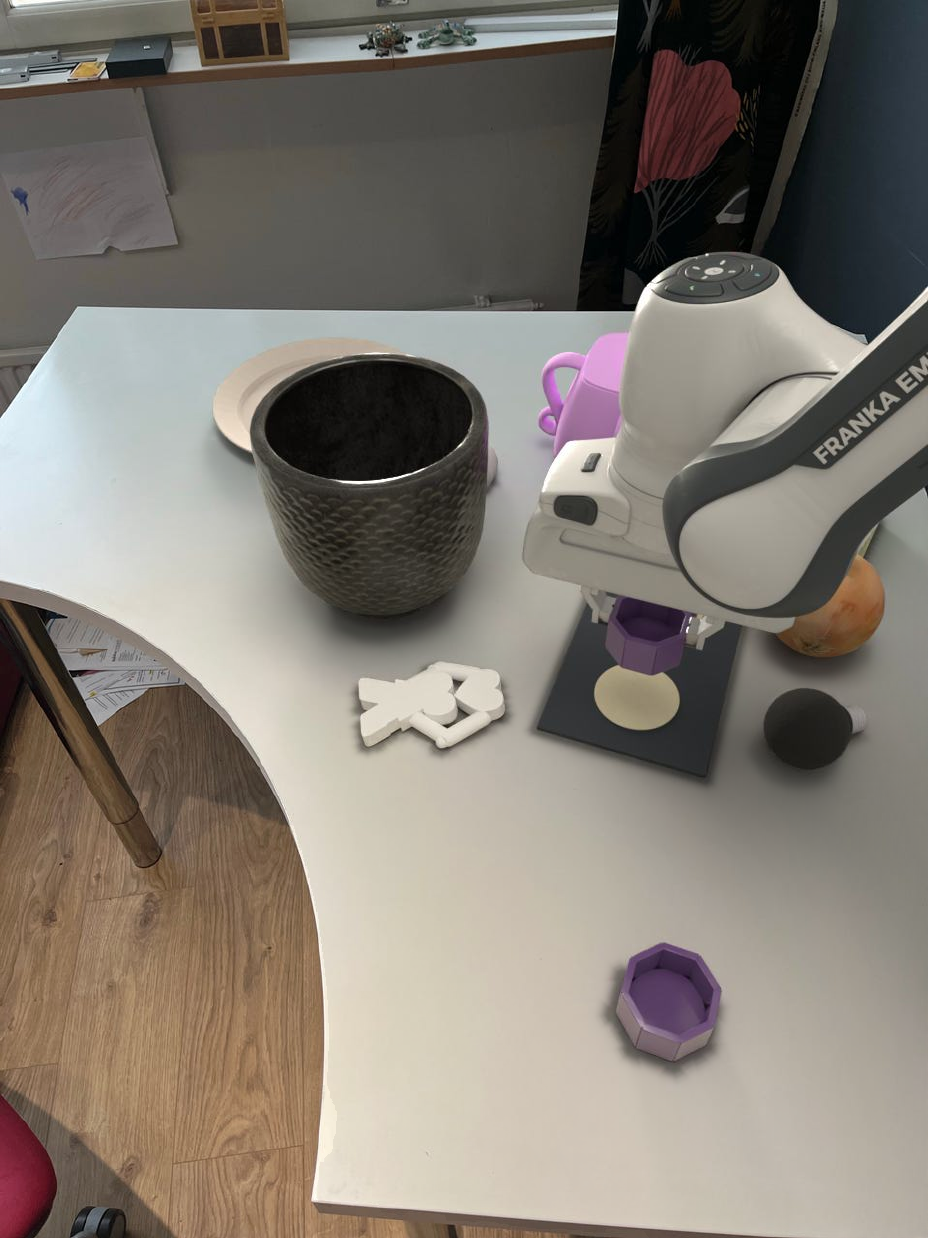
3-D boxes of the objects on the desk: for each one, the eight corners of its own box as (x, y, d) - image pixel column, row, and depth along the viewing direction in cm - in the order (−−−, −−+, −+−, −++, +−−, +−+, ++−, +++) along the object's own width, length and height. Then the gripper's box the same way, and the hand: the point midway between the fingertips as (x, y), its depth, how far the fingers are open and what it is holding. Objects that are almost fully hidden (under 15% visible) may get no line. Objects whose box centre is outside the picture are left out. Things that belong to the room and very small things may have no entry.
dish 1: (690, 628, 75) (696, 599, 73) (674, 682, 71) (681, 653, 69) (618, 610, 77) (622, 581, 74) (599, 662, 73) (602, 633, 70)
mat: (752, 578, 89) (753, 575, 88) (704, 778, 74) (705, 775, 73) (610, 545, 92) (611, 542, 92) (536, 729, 77) (536, 726, 77)
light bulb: (908, 706, 73) (826, 722, 67) (876, 772, 75) (795, 792, 70) (843, 665, 77) (762, 677, 72) (815, 728, 80) (735, 744, 75)
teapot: (595, 535, 93) (608, 416, 83) (515, 423, 107) (517, 308, 96) (758, 489, 98) (790, 371, 87) (661, 387, 111) (679, 273, 101)
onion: (862, 606, 86) (896, 525, 79) (869, 688, 79) (908, 608, 72) (755, 592, 87) (778, 511, 80) (753, 671, 81) (779, 591, 74)
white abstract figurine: (511, 738, 76) (508, 723, 74) (367, 764, 76) (362, 749, 74) (495, 657, 82) (493, 642, 80) (362, 681, 82) (357, 666, 80)
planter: (471, 503, 97) (468, 340, 83) (506, 641, 84) (509, 474, 70) (283, 526, 95) (248, 363, 82) (288, 670, 82) (247, 505, 68)
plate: (409, 484, 100) (407, 469, 98) (183, 465, 103) (179, 451, 101) (448, 357, 117) (448, 343, 115) (254, 345, 120) (251, 331, 118)
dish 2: (717, 984, 62) (727, 963, 60) (700, 1072, 59) (709, 1054, 56) (630, 953, 64) (636, 932, 62) (608, 1038, 60) (613, 1019, 58)
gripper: (836, 498, 62) (787, 635, 72) (545, 437, 67) (537, 573, 77) (826, 559, 58) (776, 695, 68) (517, 490, 63) (513, 626, 73)
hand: (647, 630), depth 73 cm, fingers closed on dish 1, 6 cm apart
